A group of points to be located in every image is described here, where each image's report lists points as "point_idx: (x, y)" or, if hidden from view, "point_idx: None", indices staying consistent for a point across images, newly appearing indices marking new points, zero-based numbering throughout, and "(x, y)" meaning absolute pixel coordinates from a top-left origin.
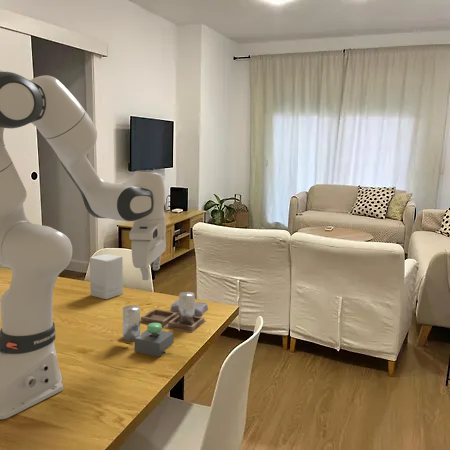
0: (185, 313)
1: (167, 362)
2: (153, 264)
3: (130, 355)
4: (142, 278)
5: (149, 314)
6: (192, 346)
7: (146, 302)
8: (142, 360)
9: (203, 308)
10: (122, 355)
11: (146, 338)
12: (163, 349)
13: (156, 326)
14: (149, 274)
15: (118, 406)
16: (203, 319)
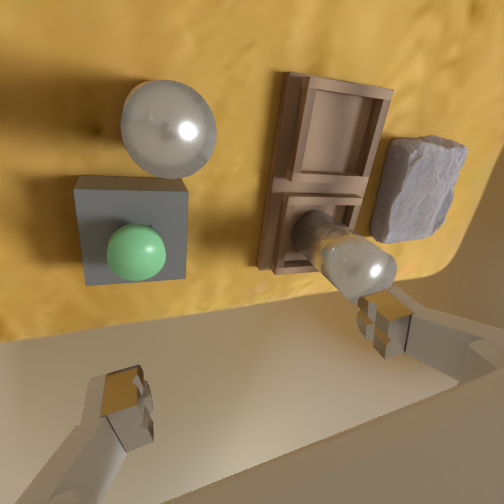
0: (312, 258)
1: (74, 294)
2: (388, 328)
3: (45, 176)
4: (89, 383)
5: (346, 93)
6: (198, 297)
7: None
8: (39, 230)
9: (402, 240)
10: (26, 150)
11: (96, 229)
12: None
13: (131, 267)
14: (136, 438)
15: None
16: None
